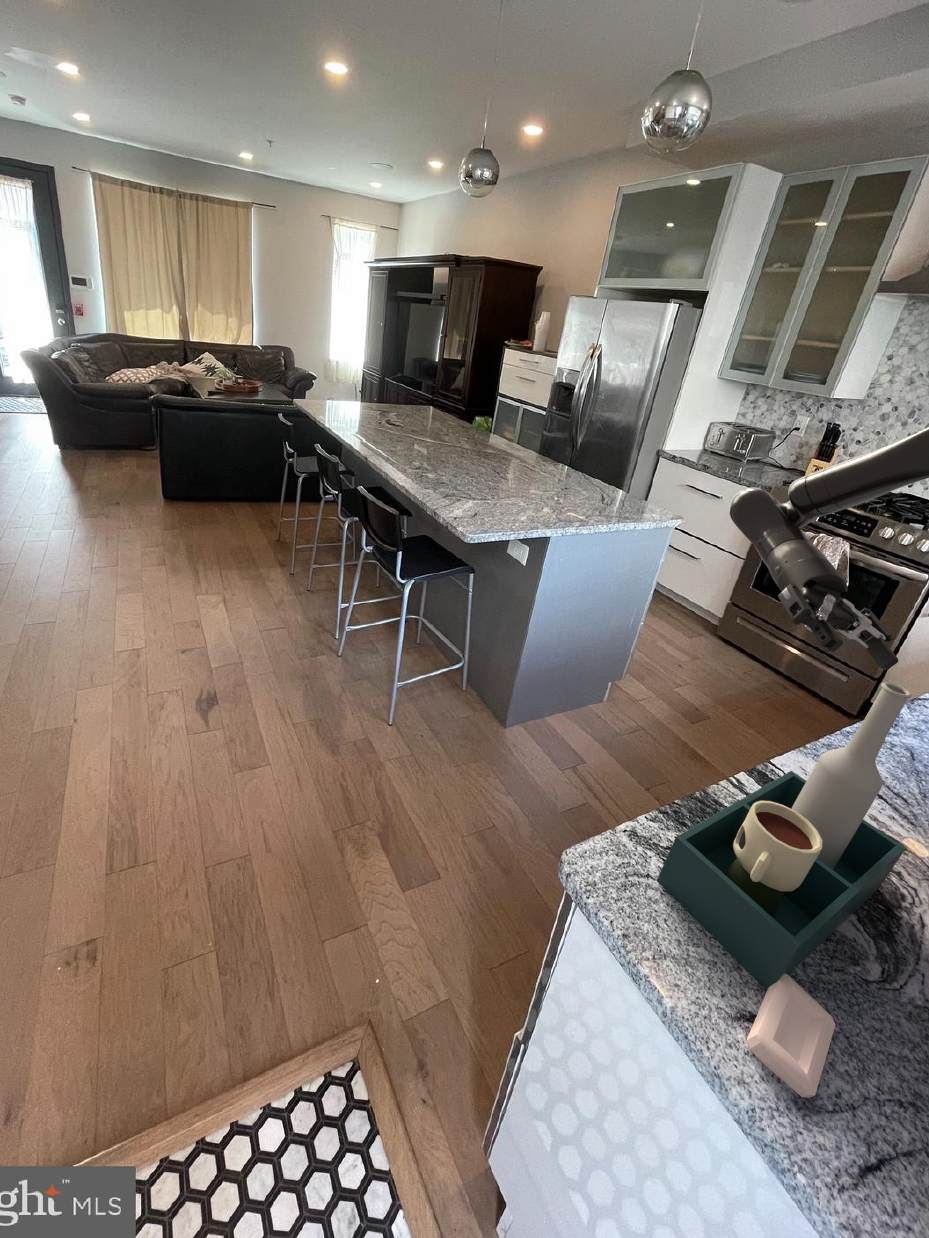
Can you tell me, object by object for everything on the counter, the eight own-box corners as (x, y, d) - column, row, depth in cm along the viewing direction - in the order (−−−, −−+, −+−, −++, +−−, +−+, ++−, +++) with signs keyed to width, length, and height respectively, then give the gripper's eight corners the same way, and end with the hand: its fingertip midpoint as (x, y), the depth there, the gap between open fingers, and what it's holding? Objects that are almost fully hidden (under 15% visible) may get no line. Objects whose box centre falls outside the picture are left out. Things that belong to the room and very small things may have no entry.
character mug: (730, 859, 72) (768, 784, 67) (789, 901, 67) (835, 824, 62) (695, 906, 65) (734, 826, 60) (758, 957, 60) (807, 875, 55)
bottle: (777, 873, 71) (876, 695, 60) (764, 834, 77) (853, 665, 66) (834, 893, 70) (947, 714, 59) (817, 851, 75) (916, 682, 65)
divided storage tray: (771, 808, 82) (791, 770, 80) (878, 888, 72) (906, 848, 69) (656, 879, 68) (675, 836, 65) (769, 993, 57) (798, 947, 55)
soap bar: (822, 1028, 56) (838, 1019, 55) (799, 1106, 50) (816, 1098, 49) (771, 978, 59) (785, 968, 57) (742, 1045, 53) (757, 1036, 51)
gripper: (781, 543, 80) (839, 622, 68) (863, 571, 82) (934, 653, 70) (747, 579, 85) (795, 660, 72) (824, 605, 87) (885, 688, 74)
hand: (863, 656), depth 71 cm, fingers open, 8 cm apart
